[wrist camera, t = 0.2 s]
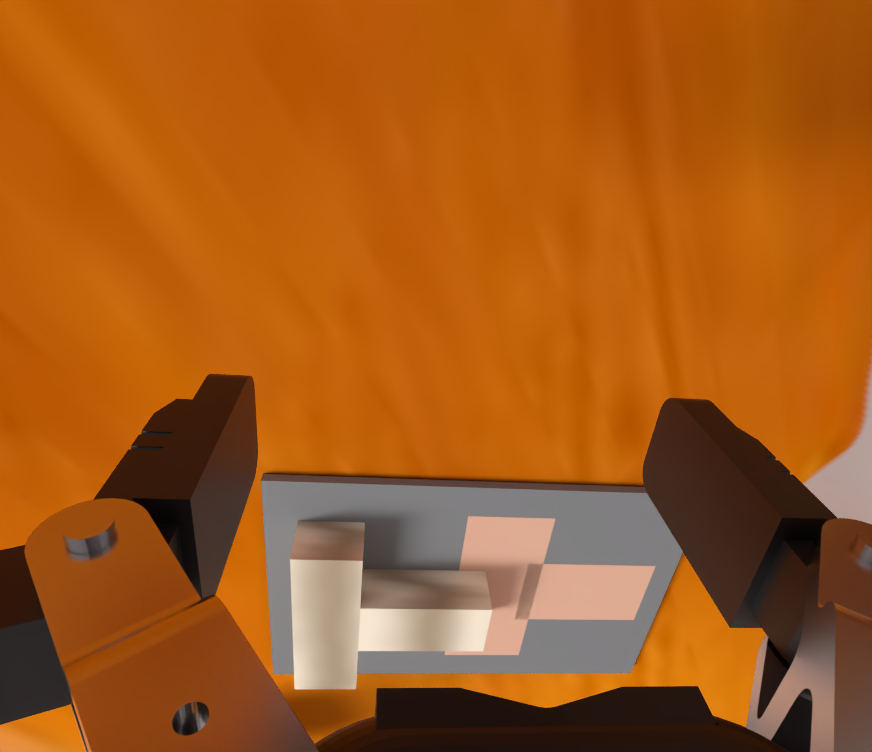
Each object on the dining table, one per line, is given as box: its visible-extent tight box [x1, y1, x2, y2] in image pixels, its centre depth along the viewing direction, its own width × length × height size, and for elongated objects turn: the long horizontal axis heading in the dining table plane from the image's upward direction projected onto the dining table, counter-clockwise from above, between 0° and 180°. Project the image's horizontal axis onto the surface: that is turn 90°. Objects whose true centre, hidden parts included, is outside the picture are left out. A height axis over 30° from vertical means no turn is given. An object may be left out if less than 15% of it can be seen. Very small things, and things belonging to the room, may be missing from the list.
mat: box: [261, 474, 683, 674], centre depth 39 cm, size 18×27×1 cm, turn 84°
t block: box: [290, 521, 492, 689], centre depth 37 cm, size 12×12×3 cm
